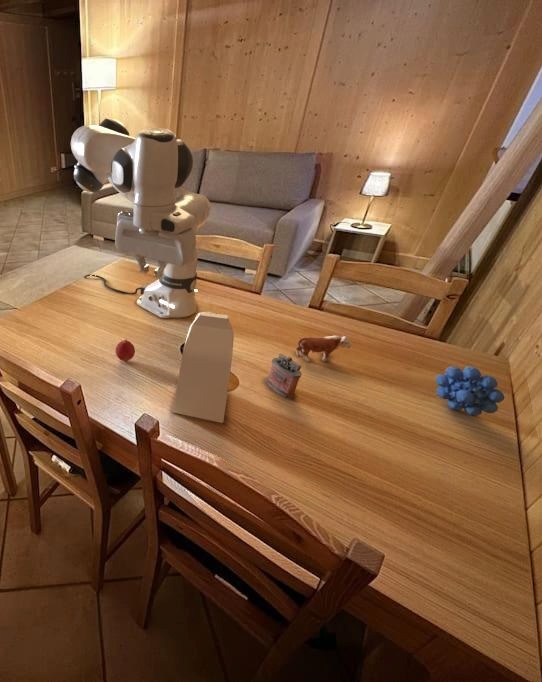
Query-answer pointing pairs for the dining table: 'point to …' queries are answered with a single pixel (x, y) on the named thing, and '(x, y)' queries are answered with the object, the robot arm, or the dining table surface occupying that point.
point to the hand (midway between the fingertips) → (151, 274)
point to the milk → (205, 368)
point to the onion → (125, 350)
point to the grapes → (469, 390)
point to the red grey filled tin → (284, 376)
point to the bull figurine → (321, 345)
